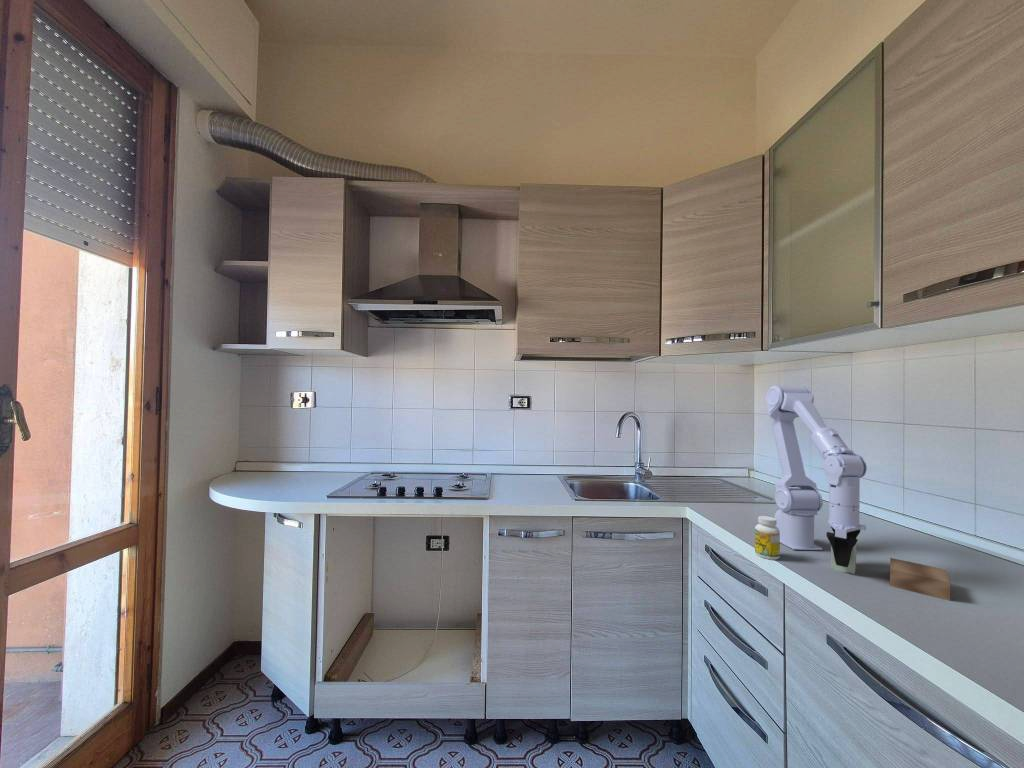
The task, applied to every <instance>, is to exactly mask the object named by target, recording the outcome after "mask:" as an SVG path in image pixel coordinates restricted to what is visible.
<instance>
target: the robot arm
mask: <svg viewBox="0 0 1024 768" xmlns="http://www.w3.org/2000/svg"><path fill="white" fill-rule="evenodd" d="M764 398H765V403H766V407H767V409H766V410H767V412H768V416H769V417H770V421H771V426H772V432H773V436H774V441H775V444H776V450H777V454H778V459H779V464H780V469H781V473H782V477H781V478H780V479H779V480H778V481H777V482H776V483H775V484H774V487H775V493H774V500H775V501H774V502H775V504H776V505H777V507H778V509H777V510H776V512H775V514H774V517H773V518H775V519H776V520H777V524H776V527H777V528H778V529H779V530H780V544H782V545H784V546H786V547H788V548H790V549H792V550H795V551H823V547H821V546H819V545H817V544H815V516H817V515H818V512H819V511H821V510H822V508H823V504H824V502H823V501H824V500H823V497H822V495H821V493H820V491H819V489H818V486H817V483H816V482H814V481H813V480H812V479H811V478H809V477H808V476H806V471H805V467H804V461H803V458H802V454H801V450H800V445H799V441H798V437H797V431H796V429H795V424H794V420H795V419H797V418H800V419H801V421H802V422H803V424H805V426H806V427H807V428H808V430H809V431H810V432H811V436H810V441H811V442H812V444H813V445H814V447H815V448H816V449H817V451H818V453H819V454H820V455H821V458H822V459H823V460H824V462H823V463H822V469H823V472H824V473H825V476H826V482H827V484H828V519H827V524H828V525H829V526H830V528H831V530H832V532H831V531H827V532H826V536H825V537H827V539H828V541H829V544H830V547H831V546H832V549H833V553H834V558H835V562H836V565H839V566H843V567H848V565H849V561H850V557H851V552H852V549H853V547H854V546H855V544H856V545H857V542H858V540H859V539H858V538H857V537H858V536H859V534H860V533H861V531H865V530H866V529H867V526H866V525H863V524H860V500H861V499H860V498H861V496H860V494H861V493H860V489H861V488H860V487H861V486H860V485H861V484H860V483H861V481H860V479H861V478H863V477H864V476H865V475H866V473H867V470H868V468H867V467H868V466H867V463H866V461H865V459H864V456H862V455H861V454H859V453H857V452H856V453H855V452H854V450H851V449H850V448H848V446H847V444H845V442H844V440H843V439H842V438H841V436H840V434H839V432H838V431H837V430H835V429H834V428H830V427H827V425H826V424H825V422H824V420H823V418H822V417H821V415H820V413H819V412H818V410H817V408H816V406H815V404H814V402H815V395H814V394H813V393H812V391H811V389H810V388H809V387H807V386H785V385H782V386H778V385H772V386H771V387H769V388H768V390H767V393H766V394H765V397H764Z"/></svg>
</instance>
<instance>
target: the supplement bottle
mask: <svg viewBox="0 0 1024 768" xmlns="http://www.w3.org/2000/svg"><path fill="white" fill-rule="evenodd" d="M757 522H758V524H756V525H755V526H754V553H755V555H756V556H758V557H759V558H762V559H766V560H772V561H777V560H778V559H780V554H781V551H780V550H781V543H780V530H779V529H778V528H777V527H776V524H777V520H776V519H775V518H774V517H772V516H767V515H759V516H758V517H757Z"/></svg>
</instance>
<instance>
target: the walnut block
mask: <svg viewBox="0 0 1024 768" xmlns="http://www.w3.org/2000/svg"><path fill="white" fill-rule="evenodd" d="M889 561H890V563H889V586H890V587H893V588H895V589H901V590H905V591H908V592H912V593H916V594H921V595H924V596H929V597H933V598H936V599H941V600H946V601H949V602H950V601H951V581H950V578H949V577H950V576H949V574H948V571H947V569H945V568H941V567H936V566H932V565H926V564H921V563H916V562H912V561H907V560H903V559H897V558H893V557H890V560H889Z"/></svg>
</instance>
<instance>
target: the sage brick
mask: <svg viewBox="0 0 1024 768" xmlns="http://www.w3.org/2000/svg"><path fill="white" fill-rule="evenodd" d="M830 569H833V570H837V571H841V572H845V573H849V574H854V575H855V574H856V570H857V543H856V544H855V546H854V547H853V549H852V552H851V557H850V561H849V565H848V567H843V566H839V565H836V562H835V558H834V553H833V549H832V546H831V545H830Z"/></svg>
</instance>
